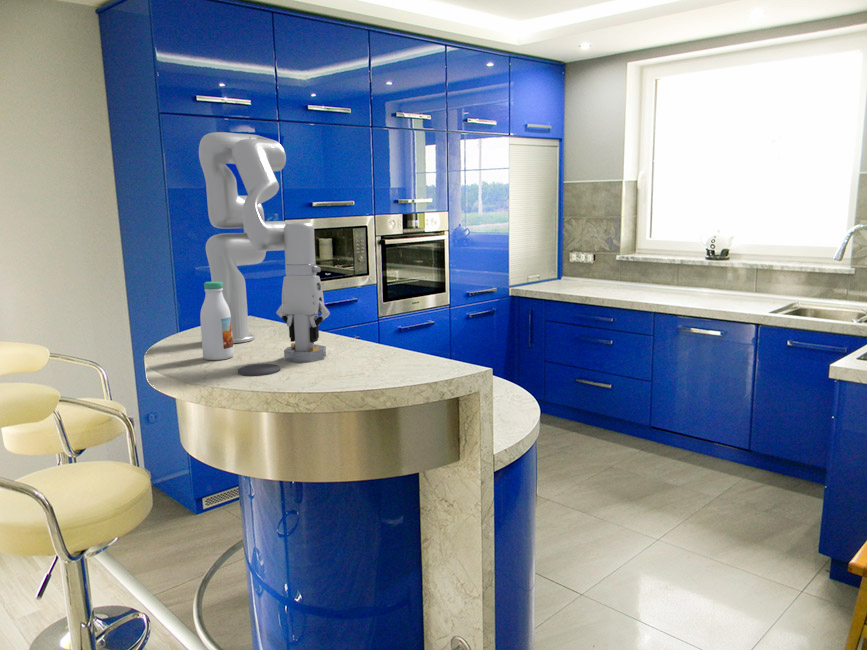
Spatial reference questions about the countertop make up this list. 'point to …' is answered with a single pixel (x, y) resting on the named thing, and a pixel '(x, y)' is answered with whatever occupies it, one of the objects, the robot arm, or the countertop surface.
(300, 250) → the robot arm
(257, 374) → the slate coaster
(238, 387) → the countertop surface
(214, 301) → the milk bottle
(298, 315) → the beverage can
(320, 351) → the ring
